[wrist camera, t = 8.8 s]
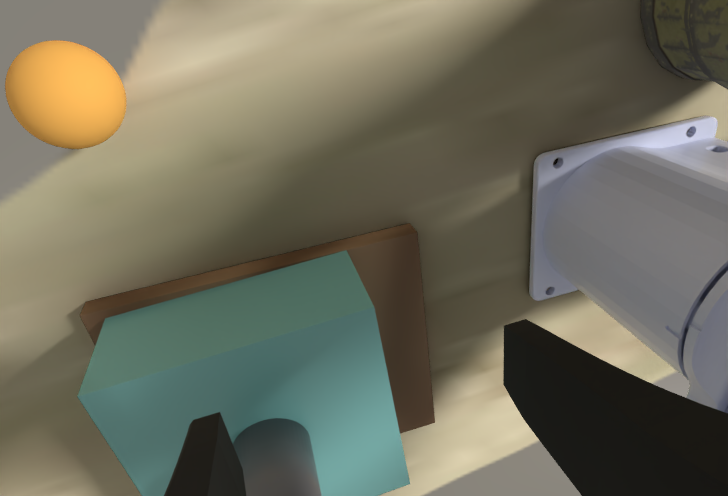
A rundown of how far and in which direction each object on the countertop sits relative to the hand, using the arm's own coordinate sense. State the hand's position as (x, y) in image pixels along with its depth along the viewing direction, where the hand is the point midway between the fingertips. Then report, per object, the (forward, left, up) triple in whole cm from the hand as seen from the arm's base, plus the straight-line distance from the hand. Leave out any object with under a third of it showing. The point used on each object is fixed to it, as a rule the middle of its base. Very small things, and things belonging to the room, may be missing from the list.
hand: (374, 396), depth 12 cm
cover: (+4, +6, -9) cm, 12 cm away
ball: (+7, -7, -10) cm, 14 cm away
